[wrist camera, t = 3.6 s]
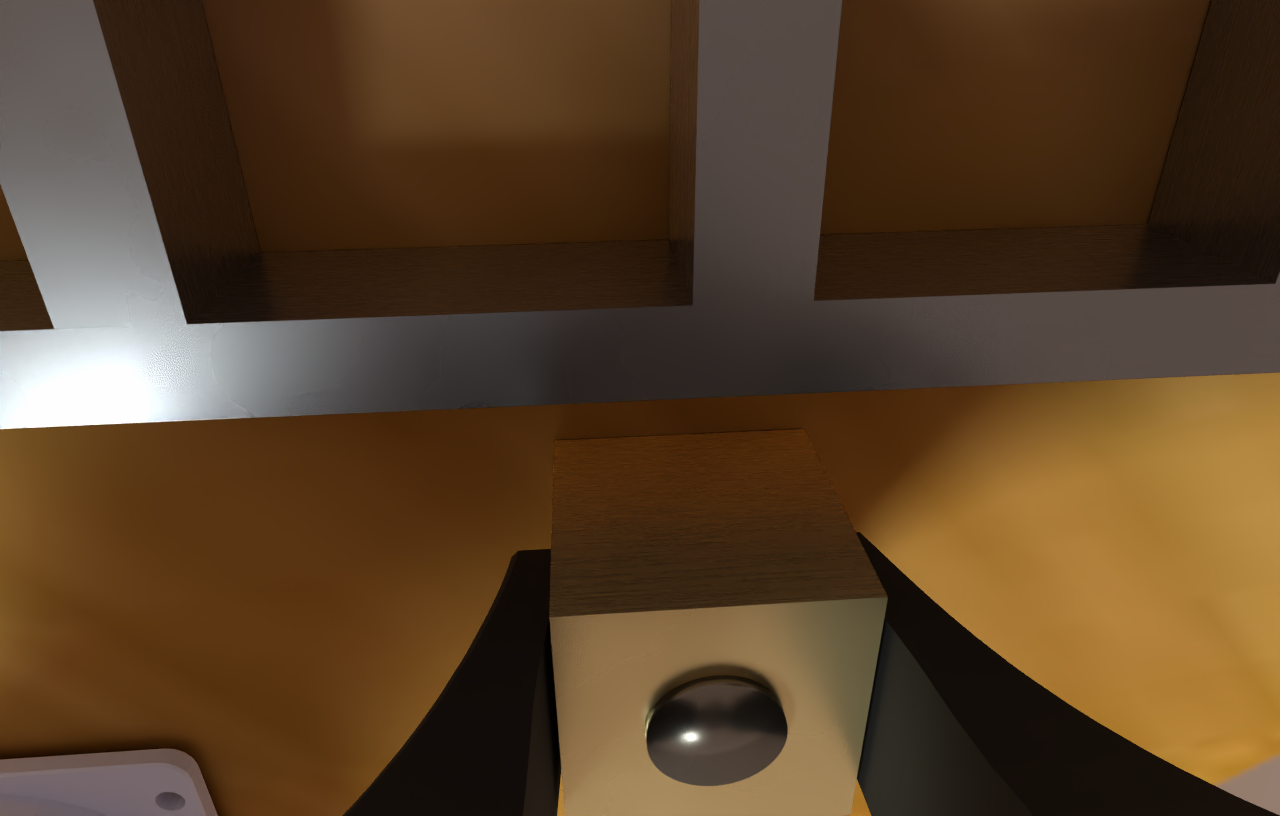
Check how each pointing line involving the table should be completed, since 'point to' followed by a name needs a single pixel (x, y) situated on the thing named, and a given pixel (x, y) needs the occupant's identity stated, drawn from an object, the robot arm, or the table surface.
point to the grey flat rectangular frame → (592, 249)
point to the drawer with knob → (708, 627)
